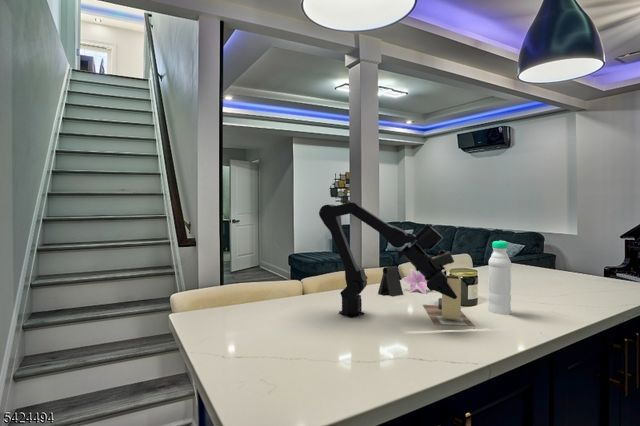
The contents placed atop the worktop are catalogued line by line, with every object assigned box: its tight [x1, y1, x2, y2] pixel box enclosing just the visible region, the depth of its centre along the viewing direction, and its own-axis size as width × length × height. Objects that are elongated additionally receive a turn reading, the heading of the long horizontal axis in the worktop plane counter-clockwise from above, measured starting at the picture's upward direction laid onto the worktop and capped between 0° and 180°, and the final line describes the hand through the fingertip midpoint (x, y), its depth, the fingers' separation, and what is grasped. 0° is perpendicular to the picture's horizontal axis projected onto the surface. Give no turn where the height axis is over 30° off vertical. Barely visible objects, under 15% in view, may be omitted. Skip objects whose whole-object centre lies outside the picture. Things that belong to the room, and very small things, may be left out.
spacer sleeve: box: [441, 275, 462, 320], centre depth 114 cm, size 5×5×12 cm
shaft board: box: [422, 297, 476, 330], centre depth 120 cm, size 22×12×4 cm, turn 174°
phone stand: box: [377, 265, 404, 298], centre depth 149 cm, size 9×6×12 cm, turn 32°
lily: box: [400, 268, 427, 295], centre depth 156 cm, size 12×12×10 cm
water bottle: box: [487, 240, 512, 315], centre depth 123 cm, size 7×7×25 cm
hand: (455, 296), depth 113 cm, fingers closed on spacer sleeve, 5 cm apart
